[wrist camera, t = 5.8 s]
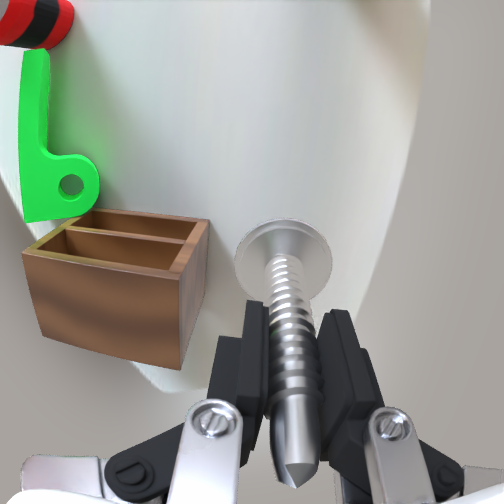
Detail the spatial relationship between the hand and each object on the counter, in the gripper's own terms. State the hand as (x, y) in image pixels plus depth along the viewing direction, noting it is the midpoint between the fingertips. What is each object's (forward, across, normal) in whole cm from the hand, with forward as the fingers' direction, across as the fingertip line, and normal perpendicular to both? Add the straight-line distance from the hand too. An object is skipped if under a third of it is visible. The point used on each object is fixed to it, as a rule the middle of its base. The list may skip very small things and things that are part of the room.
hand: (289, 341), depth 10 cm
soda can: (+26, +31, -20) cm, 45 cm away
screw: (+8, 0, 0) cm, 8 cm away
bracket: (+26, +26, -4) cm, 37 cm away
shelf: (+25, +15, +11) cm, 31 cm away
